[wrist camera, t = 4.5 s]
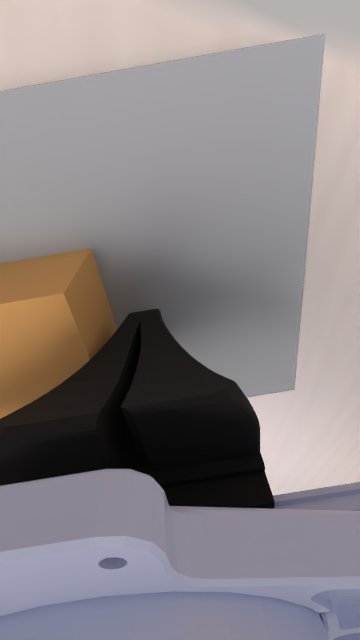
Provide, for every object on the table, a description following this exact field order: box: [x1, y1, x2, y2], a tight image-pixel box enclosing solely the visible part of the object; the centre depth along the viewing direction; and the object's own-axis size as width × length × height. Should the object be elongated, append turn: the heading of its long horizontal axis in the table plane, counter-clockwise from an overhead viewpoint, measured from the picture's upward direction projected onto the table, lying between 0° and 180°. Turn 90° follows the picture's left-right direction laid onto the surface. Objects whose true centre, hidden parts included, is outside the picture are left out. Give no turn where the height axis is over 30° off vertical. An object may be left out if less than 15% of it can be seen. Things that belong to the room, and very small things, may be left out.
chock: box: [0, 248, 117, 419], centre depth 11 cm, size 5×7×4 cm
